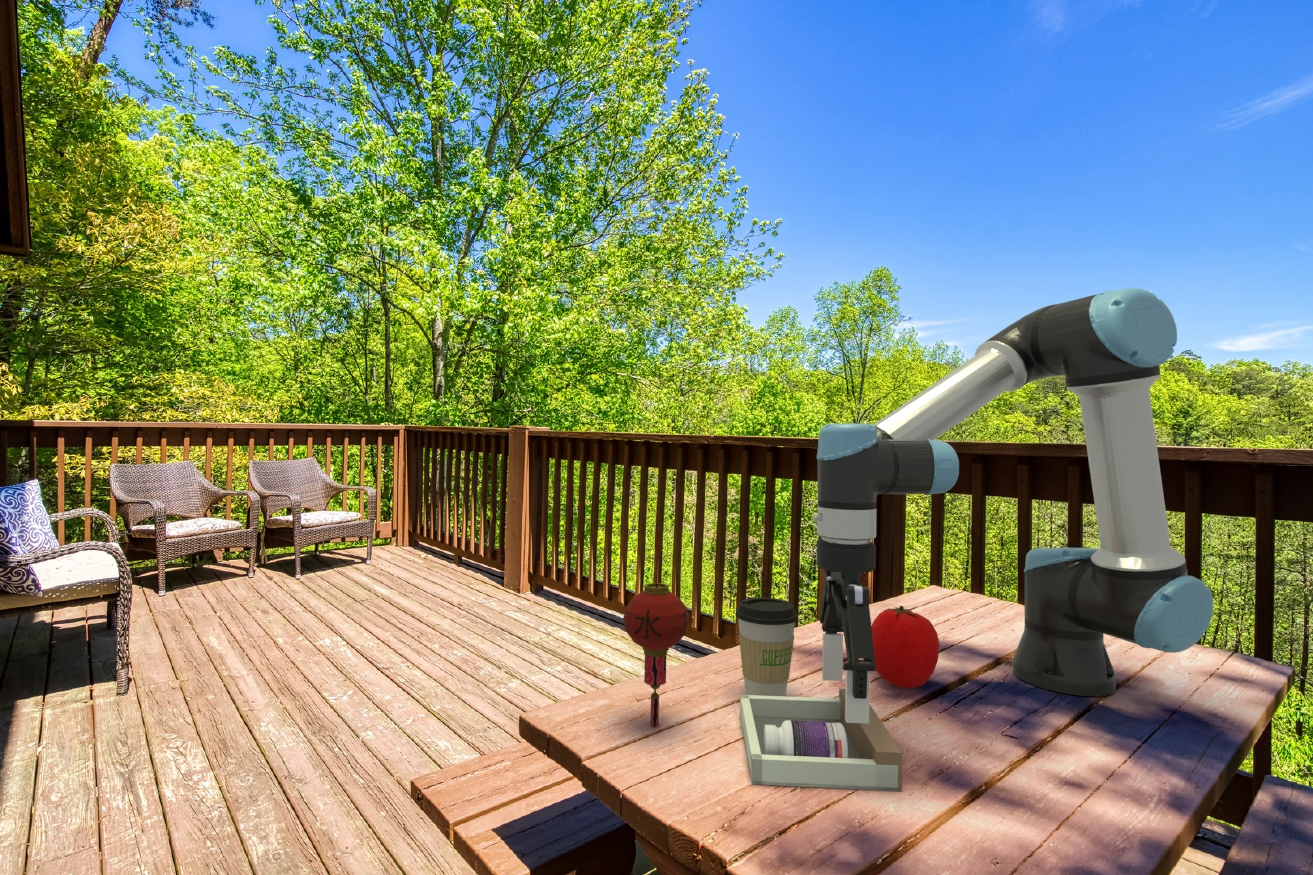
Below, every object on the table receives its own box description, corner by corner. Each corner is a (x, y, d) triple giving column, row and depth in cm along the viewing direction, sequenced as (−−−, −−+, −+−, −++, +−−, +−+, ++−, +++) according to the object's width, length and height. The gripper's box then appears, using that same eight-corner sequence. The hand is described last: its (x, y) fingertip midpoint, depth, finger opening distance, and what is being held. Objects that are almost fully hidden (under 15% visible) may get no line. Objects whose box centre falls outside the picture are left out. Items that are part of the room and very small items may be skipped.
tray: (859, 719, 93) (859, 689, 93) (901, 791, 74) (902, 752, 74) (739, 714, 94) (740, 684, 94) (751, 784, 75) (752, 746, 75)
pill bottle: (841, 713, 80) (764, 708, 80) (850, 745, 75) (767, 740, 75) (838, 747, 81) (762, 743, 82) (846, 781, 76) (765, 776, 77)
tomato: (868, 694, 102) (869, 613, 102) (864, 668, 114) (865, 595, 114) (946, 703, 99) (947, 619, 99) (933, 675, 111) (934, 600, 111)
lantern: (695, 716, 93) (698, 513, 93) (676, 745, 84) (679, 521, 84) (635, 706, 96) (638, 510, 96) (611, 733, 87) (614, 517, 87)
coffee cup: (797, 714, 94) (799, 614, 94) (731, 707, 96) (733, 609, 96) (796, 689, 104) (797, 598, 104) (736, 683, 106) (737, 594, 106)
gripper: (801, 526, 96) (799, 664, 96) (838, 555, 71) (836, 742, 71) (850, 527, 96) (849, 666, 96) (906, 557, 71) (903, 745, 71)
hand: (843, 699), depth 83 cm, fingers open, 13 cm apart
